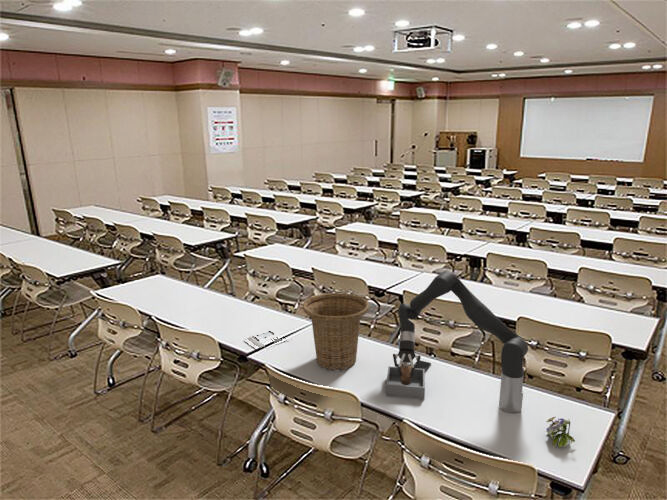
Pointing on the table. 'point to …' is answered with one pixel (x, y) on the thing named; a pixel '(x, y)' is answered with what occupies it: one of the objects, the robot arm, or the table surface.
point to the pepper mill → (406, 373)
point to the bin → (405, 391)
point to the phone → (423, 365)
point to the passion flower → (558, 427)
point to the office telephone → (261, 343)
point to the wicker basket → (336, 327)
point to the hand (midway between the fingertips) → (405, 375)
